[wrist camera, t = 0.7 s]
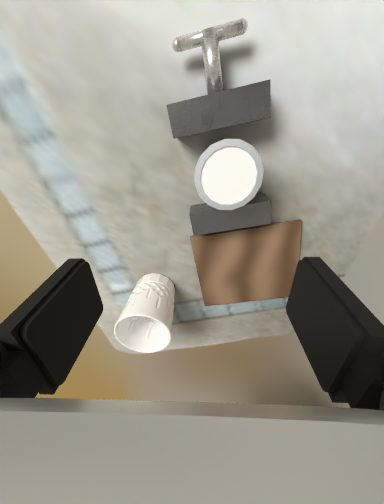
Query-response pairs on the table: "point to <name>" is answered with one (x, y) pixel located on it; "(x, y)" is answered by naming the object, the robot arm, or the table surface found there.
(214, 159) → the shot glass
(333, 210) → the table surface
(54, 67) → the table surface
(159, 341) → the white cup
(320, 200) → the table surface
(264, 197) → the vise
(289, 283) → the serving board
